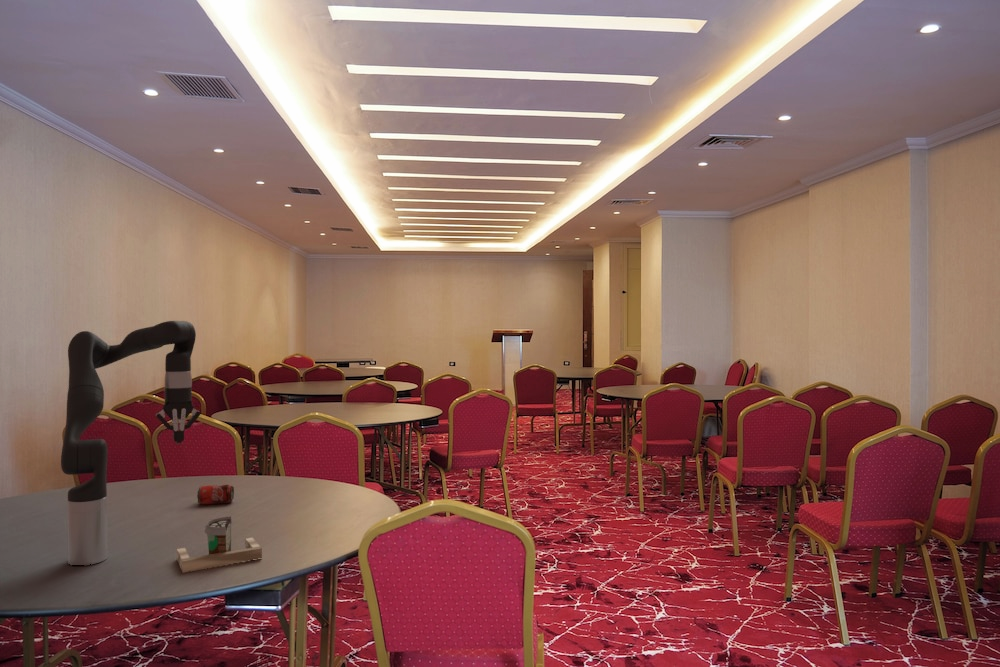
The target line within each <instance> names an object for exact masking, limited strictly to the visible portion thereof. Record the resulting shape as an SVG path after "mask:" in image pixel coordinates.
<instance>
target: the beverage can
mask: <svg viewBox="0 0 1000 667" xmlns="http://www.w3.org/2000/svg"><path fill="white" fill-rule="evenodd" d="M197 488H198V490H197V495H196V496H197V503H198V505H217V504H220V505H221V504H228V503H232V502H233V500H234V495H235V489H234V488H235V487H234V486H233V485H230V484H219V485H218V484H215V485H210V484H209V485H200V486H198V487H197Z"/></svg>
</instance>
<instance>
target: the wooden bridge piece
mask: <svg viewBox="0 0 1000 667" xmlns="http://www.w3.org/2000/svg"><path fill="white" fill-rule="evenodd" d="M244 541H245V542H244V546H245V548H246V549H245V548H241V549H237V550H231V551H229V552H223V553H217V554H210V555H209V554H205V555H200V556H199V555H197V556H193V557H192V556H191V557H190V555H189V553H188V551H187V549H186V547H181V548H177V549H176V560H177V563H178V565H179V567H180V570H181V572H182V573H183V574H184V573H189V571H190V572H194V571H202V570H206V569H207V568H208V569H213V568H212V567H214V568H218V567H217V566H219V567H223V566H222V565H225V566H229V565H228V564H231V565H233V564H232V563H237V564H239V563H238V562H242V561H248V560H253V559H258V558H262V559H263V551H262V550H263V549H262V547H261V545H260V544H259V543H258V542H257V541H256V540H255V539H254V537H247V538H245V539H244ZM208 569H207V570H208Z"/></svg>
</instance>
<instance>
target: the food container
mask: <svg viewBox="0 0 1000 667" xmlns="http://www.w3.org/2000/svg"><path fill="white" fill-rule="evenodd" d="M232 523H233V522H232V515H231V516H223V517H222V516H221V517H217V518H214V519H211V520H208V521H207V523H206V525H205V529H204V533H205V534H206V535H207V548H208V555H210V554H217V553H223V552H229V551H232Z"/></svg>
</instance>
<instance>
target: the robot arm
mask: <svg viewBox="0 0 1000 667" xmlns="http://www.w3.org/2000/svg"><path fill="white" fill-rule="evenodd" d="M196 334H197V332H196V329H195V326H194V324H192V323H191V322H190V321H188V320H167V321H163V322H160V323H158V324H155V325H153V326H148V327H143V328H139V329H136V330H132V331H131V332H129V333H128V334H127V335H126V336H125V337H124V339H123V340H122V341H121V343H119V344H114V345H109V344H108V343H107V342H105V341H104V340H103V339H102V338H100V337H99V336H98V335H97V334H96V333H93V332H91V331H88V330H84V331H79V332H78V333H76V334H75V335H74V336H73V337H72V338H71V340H70V341H69V344H68V347H67V357H68V358H67V360H68V371H69V372H68V388H67V389H68V390H67V396H66V418H65V419H66V421H65V430H64V434H63V435H64V436H63V442H62V448H61V455H60V466H61V467H60V468H61V470H62V472H63V473H64V474H65V475H69V476H73V475H74V476H75V475H86V474H87V475H88V474H93V476H92V477H91V478H90V479H89V480H87V481H85V482H83V483H81V484H78V485H76V486H74V487H73V486H72V488H70V489H69V490H68V492H67V564H68V565H69V564H70V565H69V566H72V565H84V566H90V564H91V565H95V564H98V563H102V562H104V561H106V560H107V558H108V501H107V500H108V496H107V494H108V493H107V492H108V491H107V474H108V473H107V472H108V470H107V469H108V455H109V454H108V453H109V451H108V450H109V449H108V444H107V441H106V440H105V439H102V438H95V439H93V438H92V439H80V438H81V436H82V435H83V433H84V432H85V430H86V429H88V427H89V426H90V425H91V424H93V423H94V422H95V421H96V419H98V417H99V416H100V414H102V412H103V409H104V400H105V390H104V387H103V383H102V381H101V378H100V377H99V374H98V373H97V370H96V369H100V368H104V367H106V366H108V365H111V364H114V363H115V362H118V361H120V360H124V359H126V358H128V357H131V356H132V355H135V354H139V353H144V352H146V351H152V350H157V349H160V348H162V347H164V346H167V345H174V346H173V349H172V350H171V351H170V352H168V353H167V354H165V360H164V361H165V363H164V365H165V374H164V404H163V406H162V410H161V411H159V412H156V414H155V417H156V418H157V419H158V420H159V422H161V424H163V426H164V427H166V429H167V430H168V431H169V430H171V431H172V437H173V438H172V440H173V442H175V444H182V442H184V440H185V430H187V429H190V428H191V427H192V426H193V425H194V423H195V422H196V421H197V419H198V418H199V417H200V416H201V414H202V413H201V411H200V410H197V409H196V408H194V407H195V406H194V404H193V388H192V386H193V381H192V371H191V369H192V366H191V364H192V361H191V360H192V359H191V358H192V353H193V350H194V347H195V343H196ZM190 414H191V417H190V418H189V420H187V421H186V418H188V417H189V415H190ZM166 416H168V418H169V419H170V420H171V423H172V424H170V423H169V421H167V420H166V419H165V417H166Z"/></svg>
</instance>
